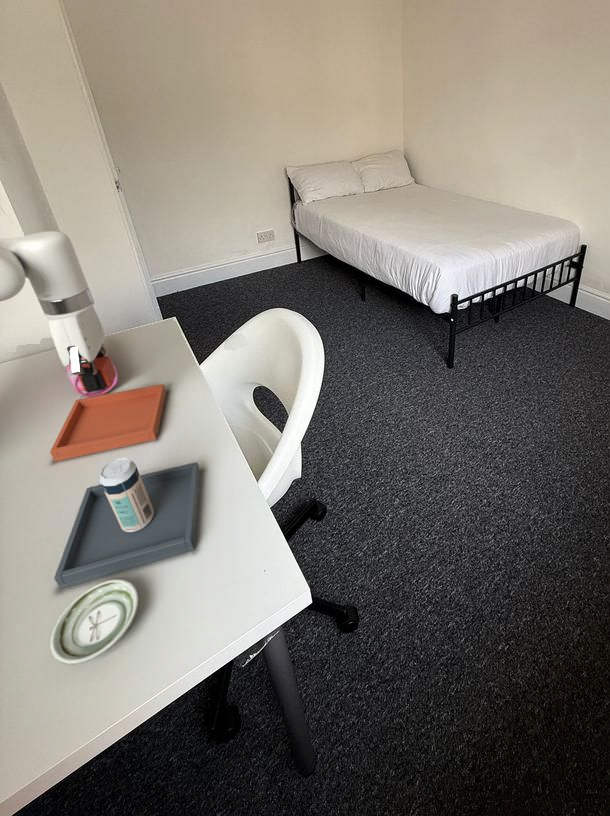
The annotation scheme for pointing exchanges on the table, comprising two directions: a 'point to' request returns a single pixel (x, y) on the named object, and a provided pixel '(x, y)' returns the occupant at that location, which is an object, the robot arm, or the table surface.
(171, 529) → the grey tray
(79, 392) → the pencil case
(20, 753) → the table surface
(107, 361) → the red block
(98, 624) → the saucer
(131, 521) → the beer can
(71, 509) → the table surface
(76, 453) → the terracotta tray
